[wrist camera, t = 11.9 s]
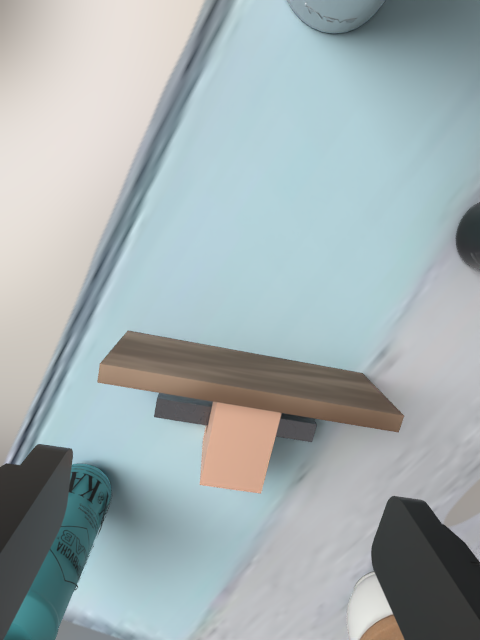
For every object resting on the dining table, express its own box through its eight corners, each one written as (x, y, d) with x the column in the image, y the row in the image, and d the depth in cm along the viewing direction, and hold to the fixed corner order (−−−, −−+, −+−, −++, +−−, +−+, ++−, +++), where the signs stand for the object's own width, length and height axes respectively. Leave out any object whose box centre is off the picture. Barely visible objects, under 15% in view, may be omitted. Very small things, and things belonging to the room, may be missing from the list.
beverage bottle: (88, 515, 41) (-26, 773, 22) (41, 477, 40) (-126, 716, 20) (131, 479, 40) (52, 713, 21) (84, 439, 39) (-46, 650, 20)
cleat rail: (160, 389, 38) (157, 398, 36) (311, 414, 40) (316, 424, 38) (157, 407, 39) (153, 417, 37) (307, 431, 40) (311, 442, 38)
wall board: (127, 330, 36) (99, 363, 28) (362, 373, 39) (404, 415, 30) (125, 345, 37) (97, 382, 28) (358, 386, 39) (398, 432, 31)
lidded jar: (431, 604, 47) (482, 694, 38) (351, 636, 48) (383, 732, 39) (405, 541, 45) (453, 622, 36) (321, 575, 45) (348, 663, 36)
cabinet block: (217, 370, 38) (217, 402, 31) (270, 380, 39) (281, 412, 32) (202, 440, 40) (199, 484, 33) (253, 448, 40) (260, 493, 34)
